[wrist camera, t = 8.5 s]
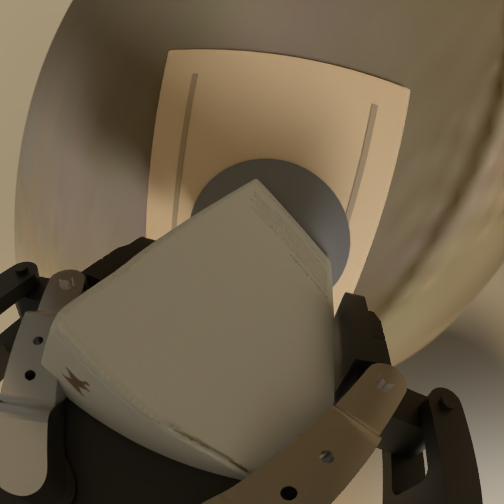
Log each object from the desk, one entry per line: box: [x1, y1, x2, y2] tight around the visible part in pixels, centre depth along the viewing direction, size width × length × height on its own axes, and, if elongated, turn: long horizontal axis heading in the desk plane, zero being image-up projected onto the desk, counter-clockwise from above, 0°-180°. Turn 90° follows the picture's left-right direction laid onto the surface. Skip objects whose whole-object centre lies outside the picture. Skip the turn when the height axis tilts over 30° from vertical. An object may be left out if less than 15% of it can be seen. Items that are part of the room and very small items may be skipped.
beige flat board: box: [146, 49, 410, 316], centre depth 15 cm, size 17×13×1 cm
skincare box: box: [41, 179, 335, 480], centre depth 9 cm, size 6×4×12 cm
